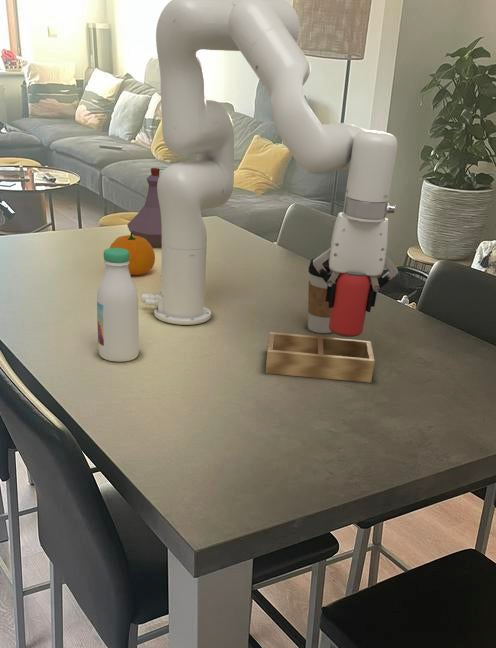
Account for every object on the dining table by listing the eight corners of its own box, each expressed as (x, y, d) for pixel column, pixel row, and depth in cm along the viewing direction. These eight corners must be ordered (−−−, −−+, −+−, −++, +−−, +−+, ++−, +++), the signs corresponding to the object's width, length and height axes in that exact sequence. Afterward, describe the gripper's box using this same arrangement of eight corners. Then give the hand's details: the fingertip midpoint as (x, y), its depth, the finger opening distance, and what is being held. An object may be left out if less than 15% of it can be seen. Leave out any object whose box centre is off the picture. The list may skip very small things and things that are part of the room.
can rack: (265, 373, 149) (267, 351, 146) (267, 353, 158) (269, 331, 155) (371, 383, 149) (374, 360, 146) (367, 362, 158) (370, 341, 155)
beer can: (325, 324, 152) (334, 263, 145) (358, 326, 152) (368, 265, 146) (331, 337, 146) (340, 273, 140) (365, 339, 147) (376, 276, 140)
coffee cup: (337, 337, 169) (347, 268, 160) (299, 332, 170) (306, 262, 161) (341, 325, 175) (350, 258, 167) (304, 320, 177) (312, 253, 168)
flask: (118, 246, 217) (116, 170, 206) (135, 233, 231) (135, 161, 220) (175, 253, 216) (176, 176, 205) (189, 240, 229) (191, 167, 218)
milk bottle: (145, 352, 153) (145, 249, 142) (127, 365, 147) (125, 258, 136) (110, 345, 155) (107, 242, 144) (91, 358, 149) (86, 251, 138)
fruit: (164, 272, 200) (164, 232, 194) (134, 281, 191) (134, 240, 186) (129, 262, 205) (128, 223, 199) (98, 271, 196) (97, 230, 191)
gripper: (411, 209, 140) (392, 306, 150) (315, 199, 140) (303, 296, 150) (416, 219, 134) (396, 319, 144) (316, 208, 134) (303, 309, 144)
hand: (349, 306), depth 147 cm, fingers closed on beer can, 6 cm apart
